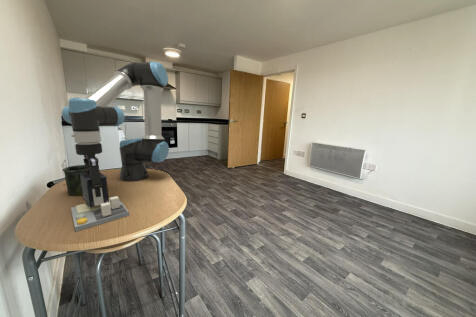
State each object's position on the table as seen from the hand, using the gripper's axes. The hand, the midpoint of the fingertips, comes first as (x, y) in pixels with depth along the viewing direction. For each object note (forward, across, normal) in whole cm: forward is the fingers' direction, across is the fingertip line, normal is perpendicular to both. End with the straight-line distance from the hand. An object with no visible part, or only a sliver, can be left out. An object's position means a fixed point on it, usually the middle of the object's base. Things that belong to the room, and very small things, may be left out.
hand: (96, 199), depth 71 cm
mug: (+4, -24, -3) cm, 24 cm away
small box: (+1, 0, 0) cm, 1 cm away
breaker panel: (+4, +5, 0) cm, 6 cm away
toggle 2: (+2, +7, +4) cm, 9 cm away
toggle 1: (+2, +11, +1) cm, 12 cm away
